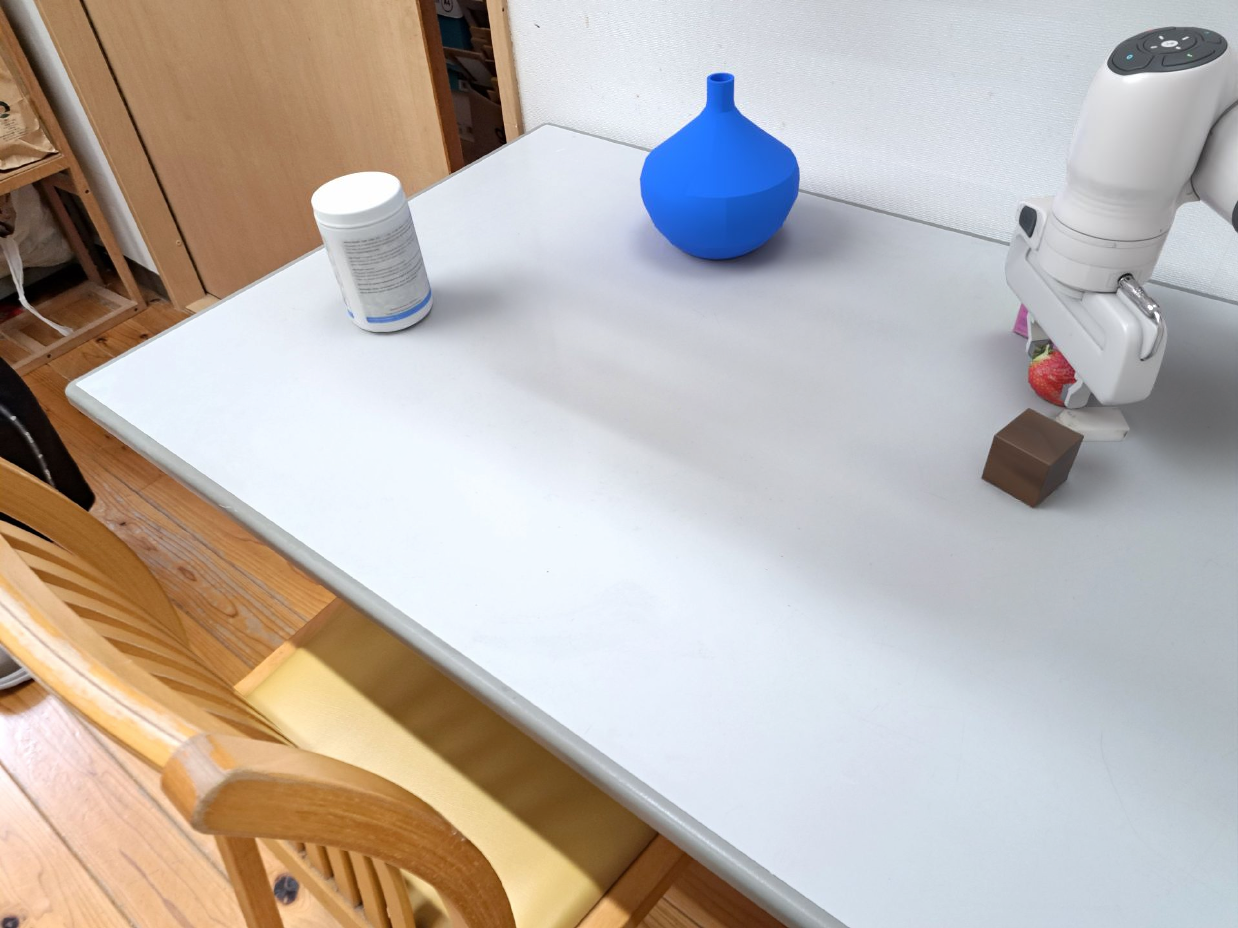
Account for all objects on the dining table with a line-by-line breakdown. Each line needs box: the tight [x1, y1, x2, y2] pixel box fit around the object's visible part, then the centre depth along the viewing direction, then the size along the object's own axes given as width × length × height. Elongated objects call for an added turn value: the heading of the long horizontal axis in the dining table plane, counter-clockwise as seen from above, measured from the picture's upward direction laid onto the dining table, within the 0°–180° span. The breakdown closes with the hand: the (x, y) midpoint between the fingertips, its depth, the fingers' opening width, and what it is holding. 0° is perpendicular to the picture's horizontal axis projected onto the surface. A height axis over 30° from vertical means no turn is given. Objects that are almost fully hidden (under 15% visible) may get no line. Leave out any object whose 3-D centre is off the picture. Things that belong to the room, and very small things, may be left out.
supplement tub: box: [310, 171, 434, 333], centre depth 95 cm, size 10×10×15 cm
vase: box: [639, 72, 801, 260], centre depth 101 cm, size 18×18×19 cm
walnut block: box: [981, 407, 1085, 509], centre depth 73 cm, size 5×5×5 cm
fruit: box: [1027, 344, 1077, 407], centre depth 81 cm, size 4×6×5 cm
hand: (1053, 378), depth 82 cm, fingers closed on fruit, 6 cm apart
